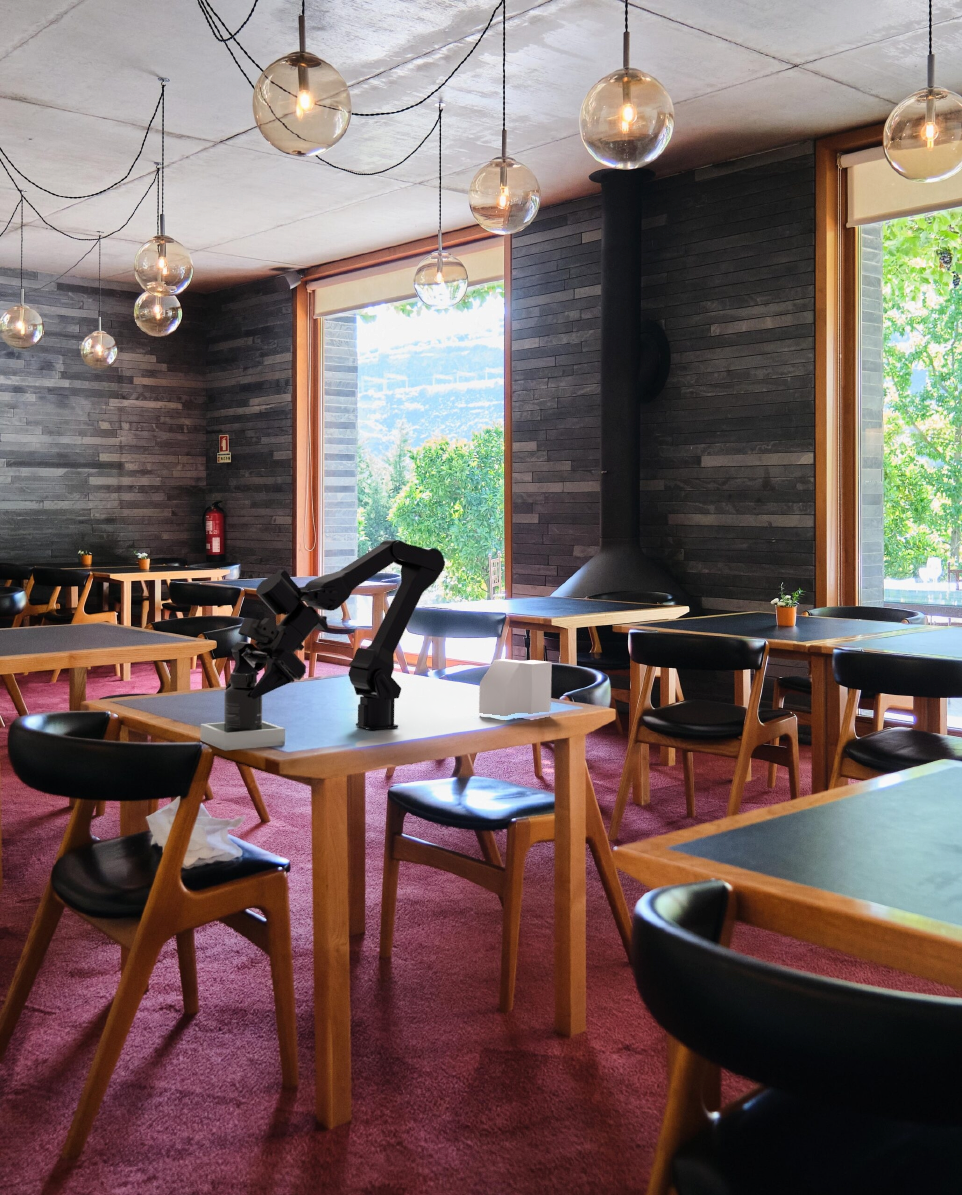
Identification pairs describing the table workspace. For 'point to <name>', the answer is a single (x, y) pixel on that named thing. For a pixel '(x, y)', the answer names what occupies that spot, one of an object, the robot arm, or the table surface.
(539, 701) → the white chamfered block
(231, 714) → the supplement bottle
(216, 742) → the tray
